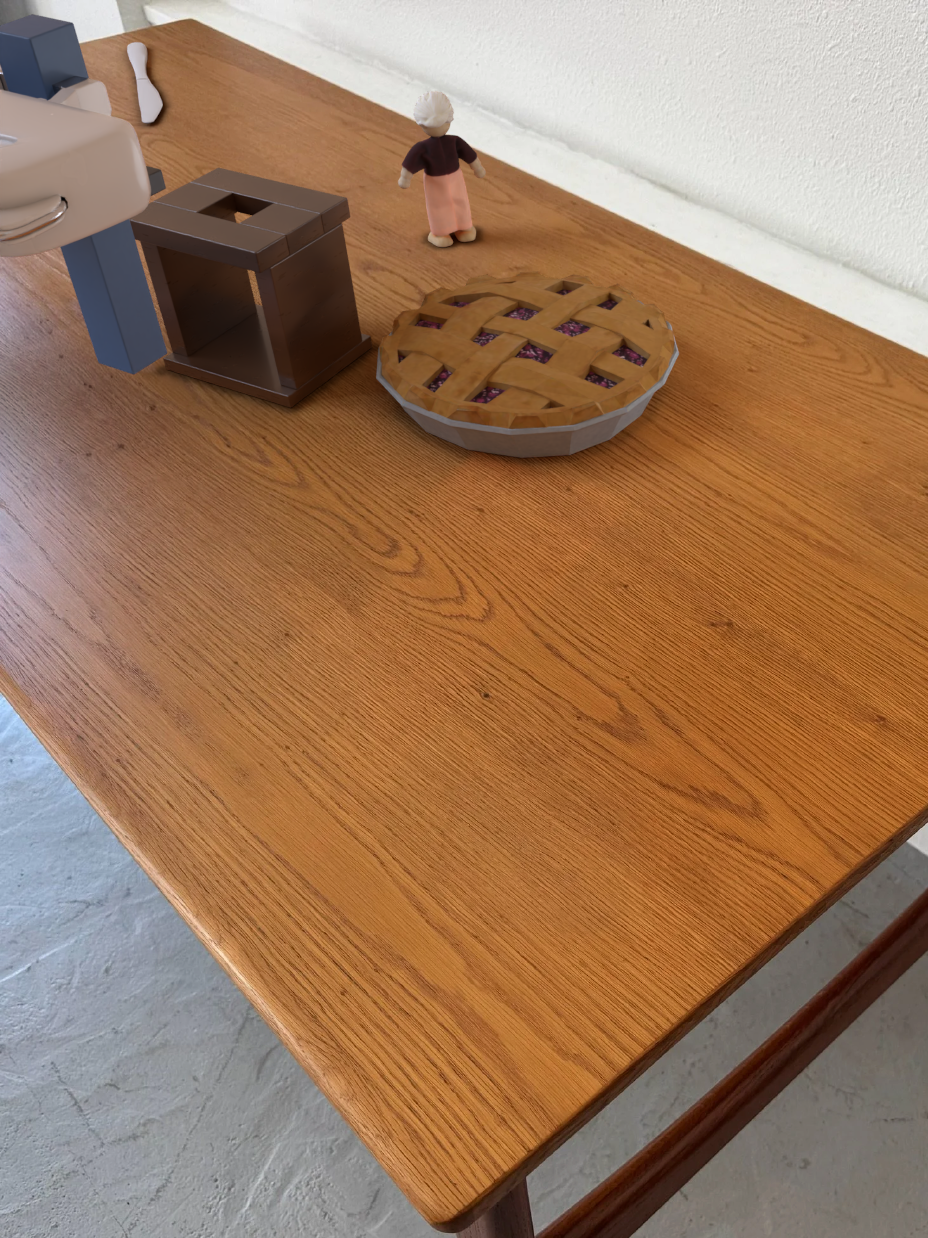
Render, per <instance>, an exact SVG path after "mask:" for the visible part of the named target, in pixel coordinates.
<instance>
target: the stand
mask: <svg viewBox="0 0 928 1238" xmlns="http://www.w3.org/2000/svg"><path fill="white" fill-rule="evenodd" d="M350 211H351V210H350V205H349V199H348V197H346V196H342V195H337V194H333V193H329V192H325V191H321V190H316V189H312V188H307V187H303V186H298V185H296V184H295V185H294V184H290V183H286V182H283V181H278V180H273V179H269V178H265V177H261V176H256V175H252V174H248V173H244V172H239V171H235V170H231V169H227V168H223V167H216V168H215V169H213V170H211V171H209V172H207V173H205V174H203V175H201V176H199V177H197V178H195V179H193V180H191V181H190V182H187V183H184V184H183V185H182V186H179V187H178V188H175V189H174V190H172V191H169V192H168V193H166V194H163V195H162V196H160V197H158V198H157V199H154V200H153V201H151V202H149V204H148V206H147V208H146V209H145V210H144V211H143V212H141V213H140V214H138V215H136V216H134V217H132V218H130V219H129V220H130V224H131V227H132V231H133V234H134V238H135V241H138V242H139V243H140V246H141V250H142V253H143V255H144V256H143V257H144V261H145V263H146V267H147V270H148V273H149V276H150V280H151V284H152V287H153V288H152V289H153V291H154V294H155V298H156V301H157V305H158V308H159V312H160V314H161V318H162V321H163V325H164V329H165V332H166V335H167V339H168V342H169V343H168V344H169V346H170V350H171V352H170V353H169V354H166V355H165V356H163V357H162V358H163V362H164V366H165V369H166V370H167V371H170V372H174V373H177V374H180V375H184V376H186V377H190V378H193V379H196V380H200V381H203V382H206V383H209V384H213V385H216V386H219V387H222V388H225V389H228V390H232V391H235V392H239V393H242V394H244V395H248V396H251V397H254V398H257V399H261V400H264V401H268V402H271V403H273V404H277V405H280V406H283V407H286V408H290V409H291V408H293V407H294V406H295V405H297V404H298V403H300V402H301V401H302V400H303V399H305V398H307V397H308V396H309V395H310V394H312V393H313V392H315V391H316V390H317V389H319V388H320V387H321V386H322V385H323V384H325V383H326V382H328V381H329V380H330V379H332V378H333V377H335V376H336V375H337V374H338V373H340V372H341V371H342V370H343V369H345V368H346V367H348V366H349V365H350V364H352V363H353V362H354V361H356V360H357V359H359V358H360V357H361V356H362V355H364V354H365V353H367V352H368V351H369V350H371V349H373V341H372V336H371V335H369V334H364V333H362V329H361V324H360V319H359V313H358V306H357V301H356V295H355V290H354V289H355V288H354V284H353V277H352V271H351V266H350V260H349V254H348V249H347V242H346V238H345V232H344V226H343V223H344V222H345V221H347V220H349V219H350V218H351V212H350ZM237 213H240V214H244V215H248V216H249V217H247V218H246V219H244V220H242V221H241V222H237V219H236V215H235V214H237ZM249 271H251V272H254V276H255V281H256V284H257V289H258V293H259V297H260V302H261V304H257V303H256V299H255V295H254V291H253V288H252V287H253V286H252V284H251V278H250V273H249Z"/></svg>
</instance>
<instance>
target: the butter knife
mask: <svg viewBox="0 0 928 1238" xmlns="http://www.w3.org/2000/svg"><path fill="white" fill-rule="evenodd" d="M126 52H127V56H128V59H129V61H130V63H131V66H132V68H133V72H134V75H135V81H136V89H137V98H138V99H137V100H138V105H139V110H140V116H141V117H140V118H141V122H142V123H144V124H151V123H154V122H155V120H156V119H157V118H158V115H159V114H160V112H161V110H162V109H163V100H162V98H161V96H160V93H159V91H158V90H157V88H156V87H155V86H154V84H152V82H151V80H150V78H149V76H148V74H147V64H148V63H147V62H148V49H147V46H146V45H145V44H144V43H142V42H139V41H138V42H137V41H135V42H131V43H129V44H128V45H127V46H126Z"/></svg>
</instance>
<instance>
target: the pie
mask: <svg viewBox="0 0 928 1238" xmlns="http://www.w3.org/2000/svg"><path fill="white" fill-rule="evenodd" d="M377 349H378V350H377V359H376V362H377V363H376V374H375V375H376V376H375V379H376V380H377V381H378V382H379V383H380V384H381V386H383V387H384V389H385V390H386V391H387V392H388V393H389V394H390V395H391V396H392V397H393V398H394V399H395V400H396V401H397V402H398V403H399V405H400V406H401V407H402V409H403V410H404V412H405V413H406V414H408V416H409V417H410V418H411V419H412V420H414V421H415V422H416V423H417V424H418V425H419V427H421V428H422V429H423V430H424V432H426V433H428V434H431V435H433V436H435V437H437V438H440V439H442V440H444V441H447V442H449V443H451V444H454V445H456V446H459V447H460V448H463V449H465V450H468V451H474V452H481V453H487V454H493V455H500V456H508V457H513V458H524V459H525V458H541V457H543V458H544V457H556V456H557V457H558V456H571V455H573V454H575V453H578V452H581V451H585V450H587V449H589V448H592V447H594V446H597V445H599V444H602V443H605V442H607V441H610V440H611V439H613V438H614V437H615V436H616V435H618V434H619V433H620V432H622V431H623V430H624V429H625V428H626V427H628V426H630V425H631V424H632V423H633V422H634V421H636V420H637V419H639V418H640V417H641V416H642V415H643V413H644V411H645V410H646V408H647V406H648V405H649V403H650V401H651V400H652V397H653V396H654V394H655V393H656V392H657V391H658V390H660V389H661V388H662V387H663V386H664V385H665V384H666V382H667V380H668V377H669V375H670V374H671V371H672V370H673V367H674V365H675V363H676V361H677V359H678V357H679V355H680V352H679V348H678V344H677V340H676V338H675V334H674V330H673V327H672V324H671V323H670V322H669V321H668V320H667V319H666V316H665V313H664V312H663V310H662V309H660V307H658V306H657V305H656V304H654V303H646V304H645V303H643V302H642V301H641V300H639V299H637V298H636V296H635V295H634V292H632V291H630V290H629V289H627V288H626V287H624V286H622V285H621V284H619V283H615V284H613V285H611V286H608V287H607V286H601V285H597V284H595V283H594V282H593V281H592V279H591V278H590V276H588V275H580V274H571V275H568V276H565V277H562V278H557V277H550V276H549V277H548V276H545V275H544V274H541V273H540V271H519V272H518V273H516V274H515V275H513V276H510V277H509V276H508V277H501V278H496V277H495V276H492V275H490V274H488V273H486V274H482V275H478V276H474V277H470V278H468V280H467V281H466V283H465V285H463V286H460V287H458V288H455V289H448V288H445V287H444V286H443V287H442V286H441V287H438V288H437V289H436V288H435V290H433V291H430V292H428V293H427V294H425V296H424V298H423V301H422V303H421V305H420V307H418V308H415V309H409V310H403V311H401V312H400V313H399V314H398V315H397V316H396V317H395V318H394V319H393V323H392V330H391V332H390V333H389V334H388V335H383V337H382V339H381V341H380V344H379V346H378V348H377Z"/></svg>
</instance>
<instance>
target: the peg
mask: <svg viewBox="0 0 928 1238" xmlns="http://www.w3.org/2000/svg"><path fill="white" fill-rule="evenodd" d="M0 66H1V69H2V72H3V75H4V78H5V81H6V84H7V87H8V90H9V92H13V93H17V94H22V95H26V96H30V97H34V98H43V99H47V100H50V99H51V98H52V97H53V96H54V95H55V93H54V90H53V86H52V85H53V84H55V83H58V82H60V81H63V80H67V79H69V78H70V77H73V76H80V77H85V78H90V77H89V73H88V69H87V66H86V63H85V59H84V56H83V52H82V49H81V44H80V42H79V38H78V35H77V31H76V27H75V24H74V23H73V22H71V21H67V20H62V19H57V18H53V17H48V16H43V15H39V14H34V13H31V14H29V15H26V16H23V17H20V18H17V19H13V20H11V21H9V22H6V23H3V24H0ZM146 168H147V172H148V176H149V181H150V185H151V197H152V196H155V195H156V194H159V193H160V192H162V191H164V190H166V189H167V185H166V182H165V179H164V175H163V170H162V169H161V168H156V167H152V166H148V165H146ZM59 248H60V250H61V251H60V252H61V254H62V257H63V259H64V262H65V266H66V269H67V271H68V275H69V278H70V280H71V284H72V287H73V290H74V293H75V296H76V299H77V302H78V305H79V308H80V312H81V314H82V317H83V320H84V324H85V326H86V329H87V332H88V335H89V339H90V342H91V344H92V347H93V350H94V354H95V357H96V359H97V362H98V364H100V365H103V366H105V367H109V368H113V369H114V370H118V371H120V372H124V373H128V374H130V375H136V374H137V373H139V372H141V371H142V370H144V369H146V368H147V367H148V366H150V365H152V364H153V363H155V362H156V361H158V360H160V359H161V358H164V357H165V356H167V355H168V350H167V346H166V343H165V340H164V336H163V333H162V329H161V325H160V322H159V318H158V315H157V312H156V307H155V304H154V301H153V298H152V294H151V290H150V287H149V284H148V280H147V276H146V274H145V269H144V266H143V262H142V259H141V255H140V252H139V248H138V245H137V240H135V238H134V234H133V231H132V227H131V224H130V220H129V219H128V220H125V221H123V222H121V223H119V224H116V225H114V226H112V227H109V228H107V229H105V230H102V231H100V232H98V233H95V234H93V235H90V236H88V237H85V238H83V239H80V240H78V241H75V242H73V243H70V244H67V245H65V246H62V247H59Z"/></svg>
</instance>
